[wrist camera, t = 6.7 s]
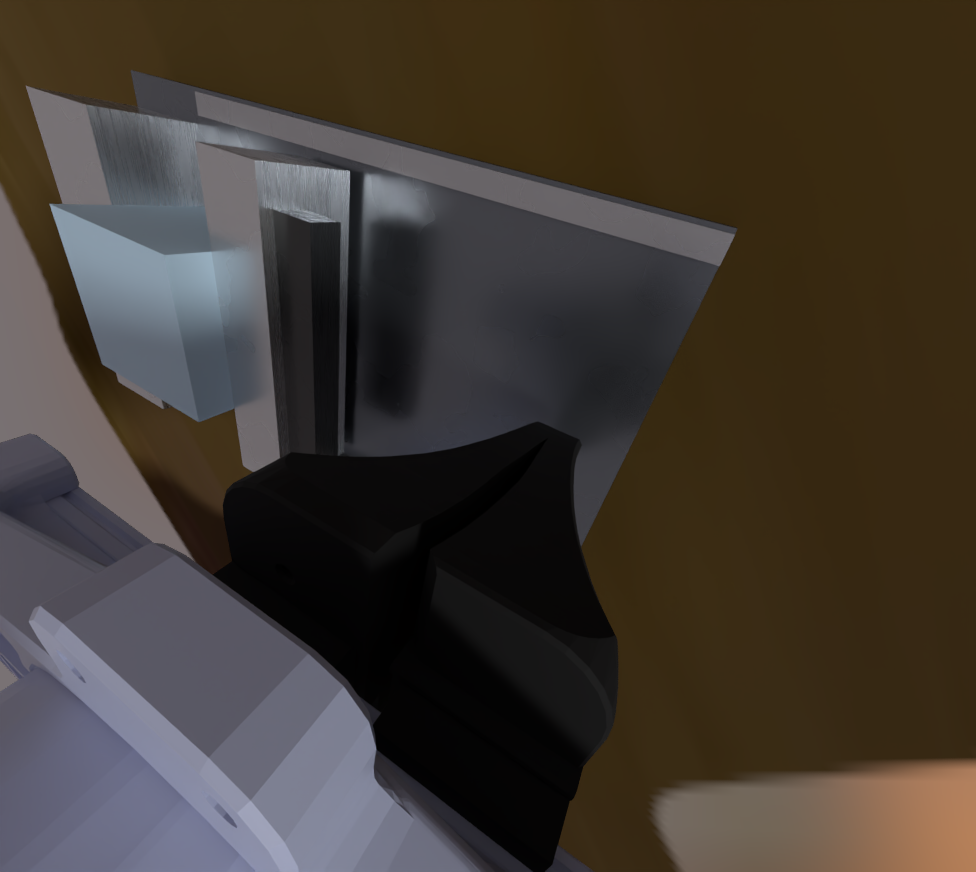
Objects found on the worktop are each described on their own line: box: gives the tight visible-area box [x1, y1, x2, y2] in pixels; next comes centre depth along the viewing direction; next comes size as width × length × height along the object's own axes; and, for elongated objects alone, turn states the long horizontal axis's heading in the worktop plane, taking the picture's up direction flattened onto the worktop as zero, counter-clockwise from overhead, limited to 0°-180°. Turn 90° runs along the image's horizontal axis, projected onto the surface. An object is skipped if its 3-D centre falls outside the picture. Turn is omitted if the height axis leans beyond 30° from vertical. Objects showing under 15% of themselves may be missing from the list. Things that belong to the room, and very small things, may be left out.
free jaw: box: [195, 141, 350, 472], centre depth 13 cm, size 10×3×3 cm, turn 167°
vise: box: [26, 70, 737, 546], centre depth 14 cm, size 12×20×4 cm, turn 77°
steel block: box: [50, 204, 234, 422], centre depth 14 cm, size 5×5×4 cm
